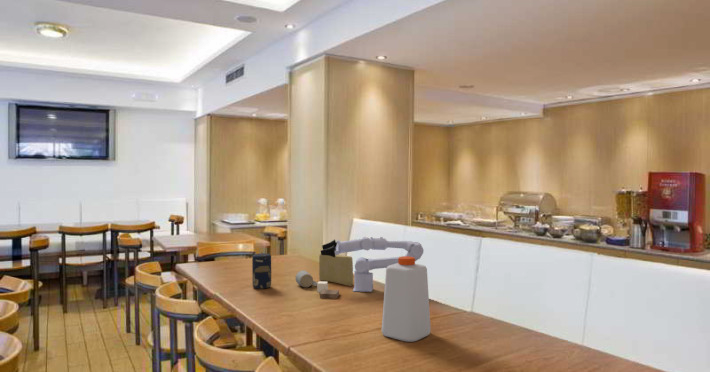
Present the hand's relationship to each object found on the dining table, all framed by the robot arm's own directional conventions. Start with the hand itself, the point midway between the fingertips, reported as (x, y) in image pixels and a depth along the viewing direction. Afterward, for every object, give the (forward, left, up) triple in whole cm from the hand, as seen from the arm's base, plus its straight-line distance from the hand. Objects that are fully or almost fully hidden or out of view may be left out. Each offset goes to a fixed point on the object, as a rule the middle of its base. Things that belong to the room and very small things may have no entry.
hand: (321, 250), depth 241 cm
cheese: (-6, -17, -20) cm, 27 cm away
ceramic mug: (+9, -6, -20) cm, 23 cm away
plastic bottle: (-42, +64, -20) cm, 79 cm away
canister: (+31, 0, -20) cm, 37 cm away
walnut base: (-6, +13, -20) cm, 25 cm away
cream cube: (-1, +4, -20) cm, 20 cm away
